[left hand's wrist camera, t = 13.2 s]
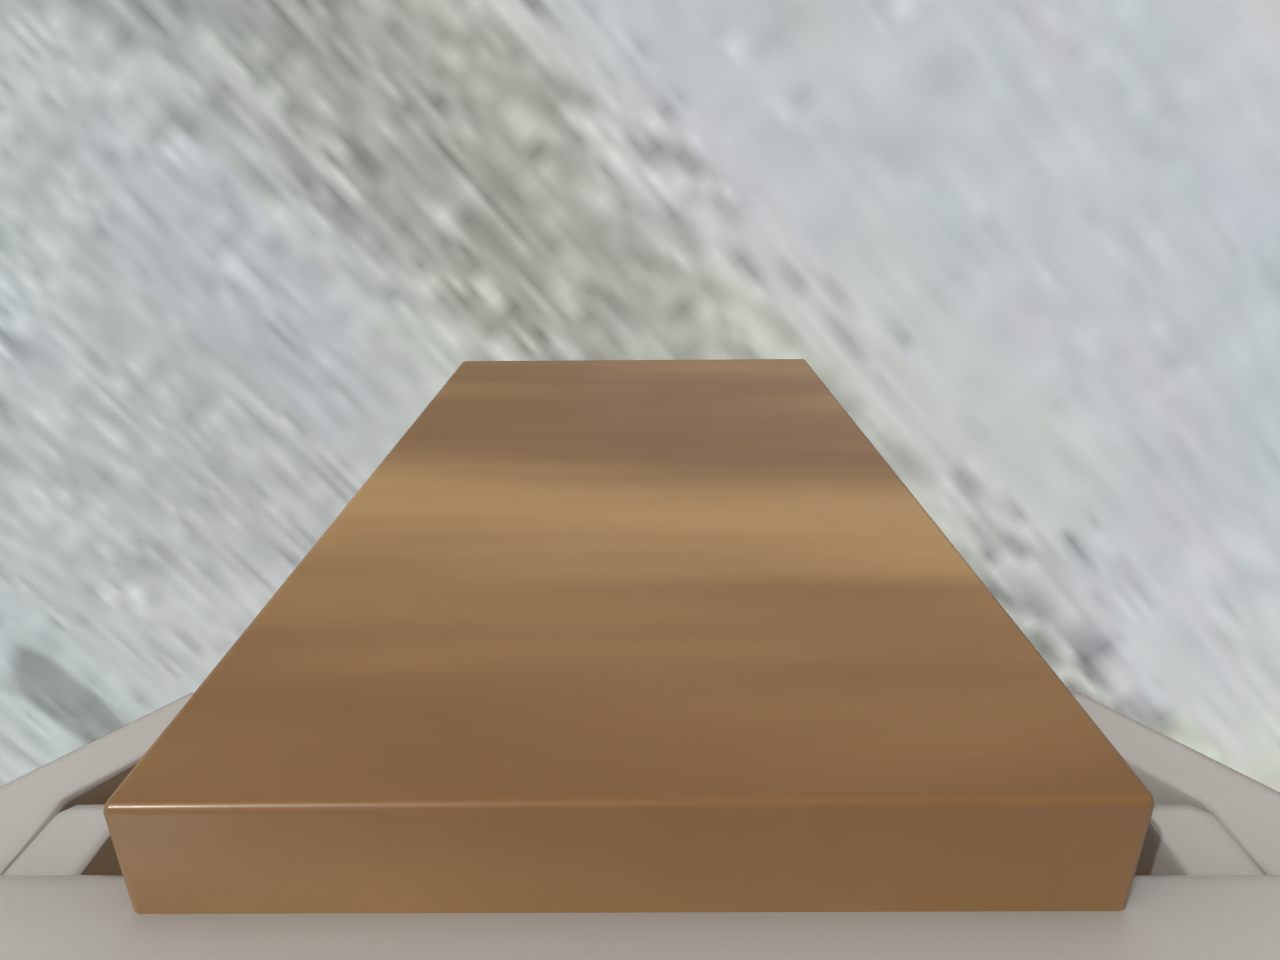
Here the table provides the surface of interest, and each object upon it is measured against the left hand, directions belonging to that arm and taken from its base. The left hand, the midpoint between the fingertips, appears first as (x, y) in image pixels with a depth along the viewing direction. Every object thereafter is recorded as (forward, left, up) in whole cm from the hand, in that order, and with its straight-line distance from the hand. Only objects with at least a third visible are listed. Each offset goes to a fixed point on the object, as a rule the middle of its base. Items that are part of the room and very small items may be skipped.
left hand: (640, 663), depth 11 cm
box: (+3, +10, -6) cm, 12 cm away
